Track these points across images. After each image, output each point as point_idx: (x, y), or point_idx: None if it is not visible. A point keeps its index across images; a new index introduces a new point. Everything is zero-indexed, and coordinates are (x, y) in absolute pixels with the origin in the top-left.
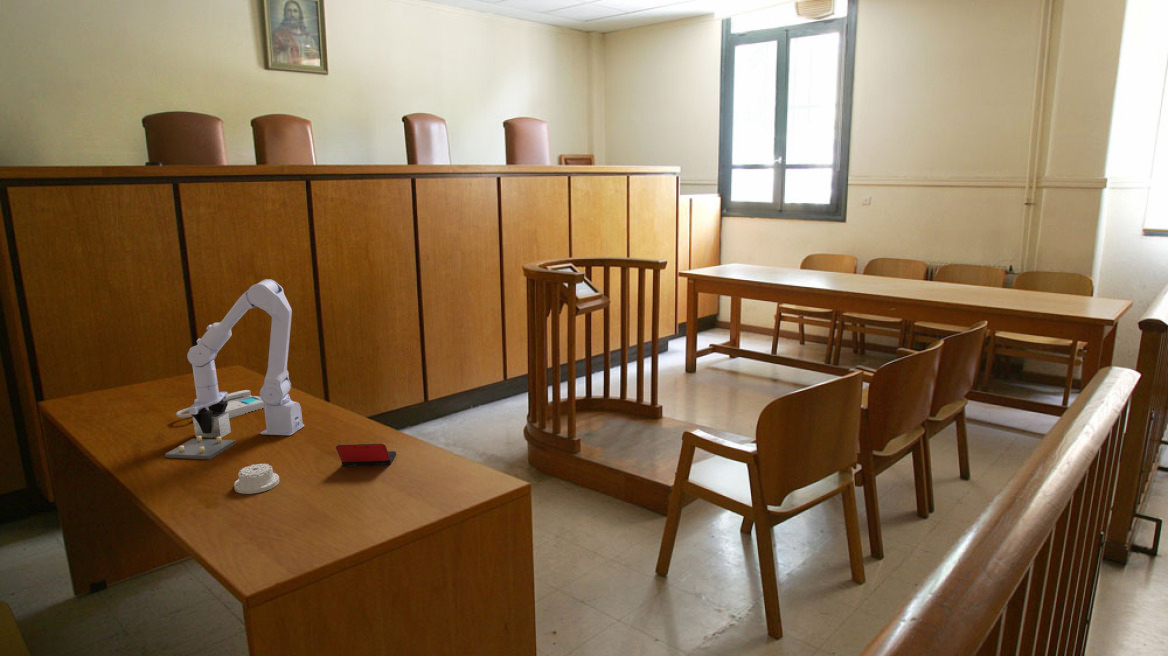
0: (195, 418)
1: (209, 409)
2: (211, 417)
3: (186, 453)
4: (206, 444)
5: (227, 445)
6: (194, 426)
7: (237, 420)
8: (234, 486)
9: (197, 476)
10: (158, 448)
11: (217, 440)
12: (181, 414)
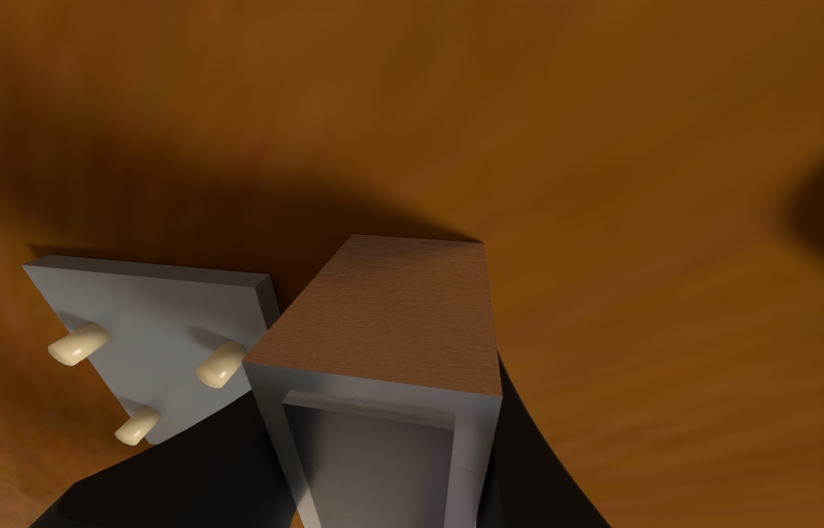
0: (182, 438)
1: (503, 509)
2: (306, 514)
3: (103, 360)
4: (222, 395)
5: None
6: (313, 285)
7: (743, 360)
8: None
9: (68, 436)
10: (72, 86)
11: None
12: None
